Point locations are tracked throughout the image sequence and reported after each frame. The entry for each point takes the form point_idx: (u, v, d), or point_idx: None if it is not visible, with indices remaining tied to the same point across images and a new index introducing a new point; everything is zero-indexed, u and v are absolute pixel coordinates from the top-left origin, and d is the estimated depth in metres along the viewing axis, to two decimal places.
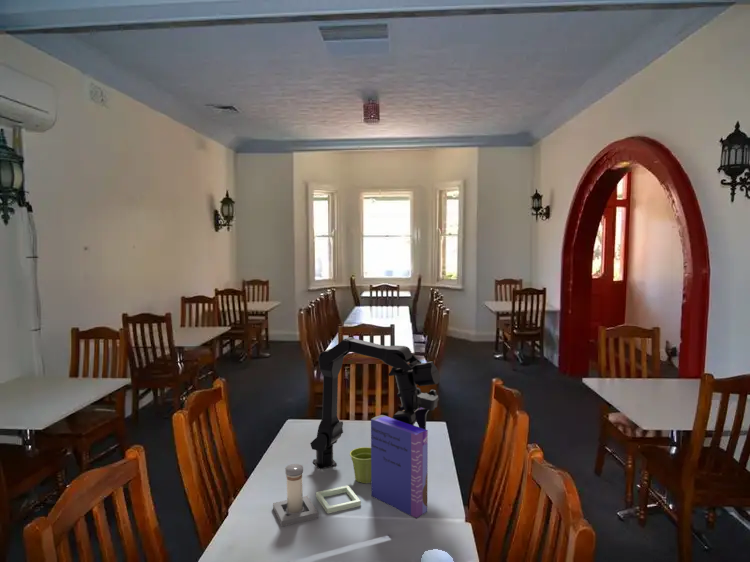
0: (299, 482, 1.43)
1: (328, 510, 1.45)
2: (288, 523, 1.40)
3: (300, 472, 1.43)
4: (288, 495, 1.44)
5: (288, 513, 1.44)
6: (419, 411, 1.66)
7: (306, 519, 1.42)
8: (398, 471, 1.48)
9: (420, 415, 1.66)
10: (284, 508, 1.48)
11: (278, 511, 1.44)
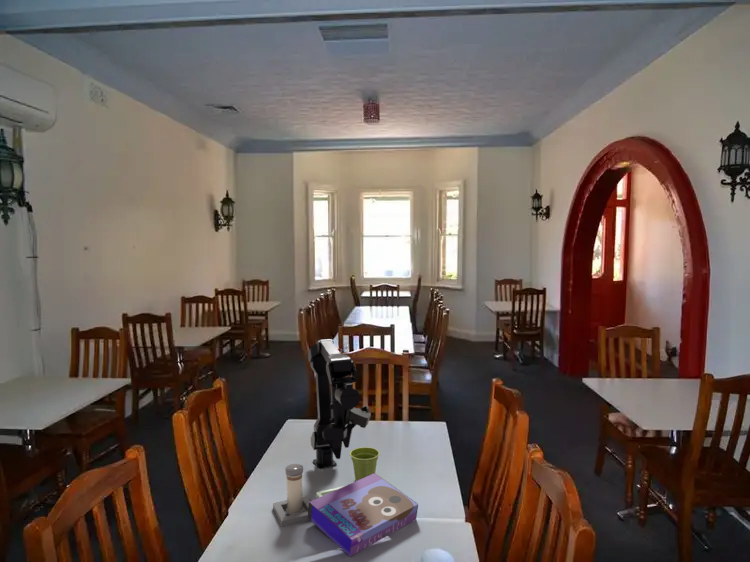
0: (299, 482, 1.43)
1: None
2: (288, 523, 1.40)
3: (300, 472, 1.43)
4: (288, 495, 1.44)
5: (288, 513, 1.44)
6: (346, 425, 1.59)
7: (306, 519, 1.42)
8: None
9: None
10: (284, 508, 1.48)
11: (278, 511, 1.44)
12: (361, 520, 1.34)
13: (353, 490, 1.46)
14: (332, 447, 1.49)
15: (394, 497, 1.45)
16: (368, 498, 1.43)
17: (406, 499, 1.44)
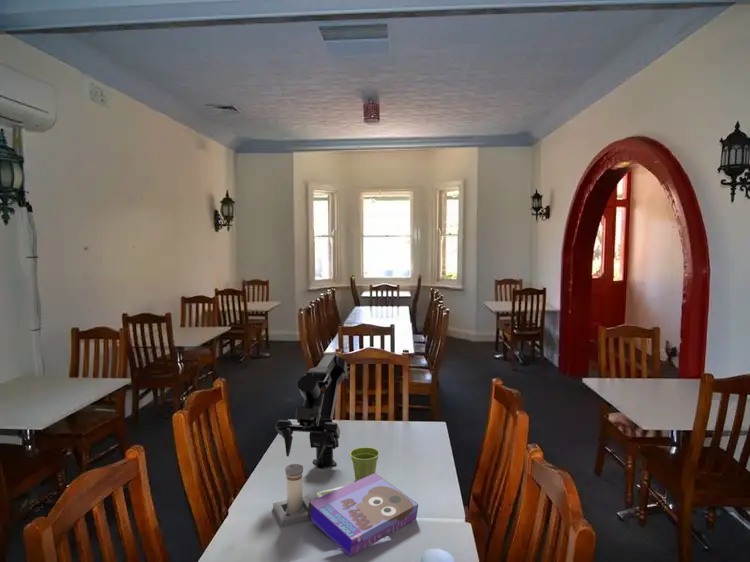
0: (299, 482, 1.43)
1: None
2: (288, 523, 1.40)
3: (300, 472, 1.43)
4: (288, 495, 1.44)
5: (288, 513, 1.44)
6: None
7: (306, 519, 1.42)
8: None
9: None
10: (284, 508, 1.48)
11: (278, 511, 1.44)
12: (361, 520, 1.34)
13: (353, 490, 1.46)
14: None
15: (394, 497, 1.45)
16: (368, 498, 1.43)
17: (406, 499, 1.44)
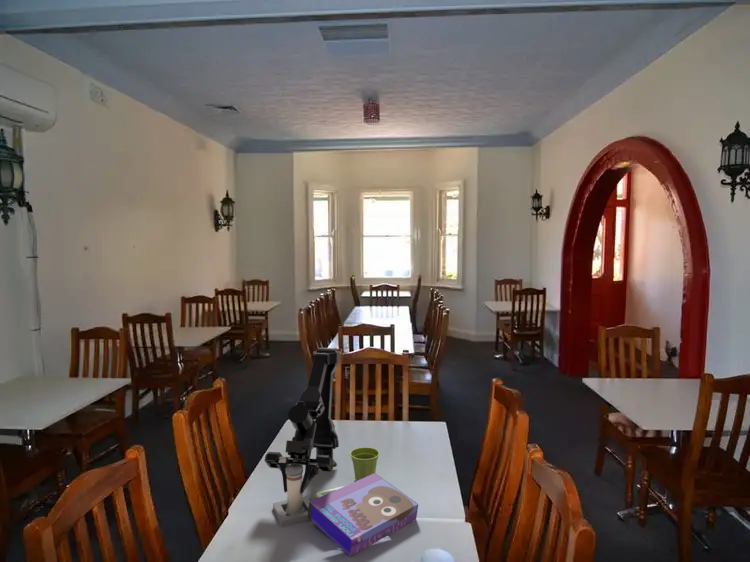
0: (299, 482, 1.43)
1: None
2: (288, 523, 1.40)
3: (300, 472, 1.43)
4: (288, 495, 1.44)
5: (288, 513, 1.44)
6: None
7: (306, 519, 1.42)
8: None
9: None
10: (284, 508, 1.48)
11: (278, 511, 1.44)
12: (361, 520, 1.34)
13: (353, 490, 1.46)
14: None
15: (394, 497, 1.45)
16: (368, 498, 1.43)
17: (406, 499, 1.44)
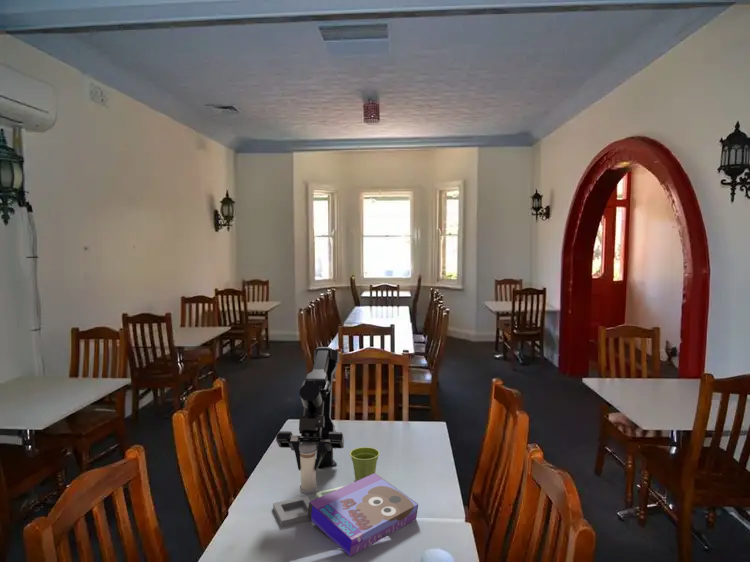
0: (313, 459, 1.45)
1: None
2: (288, 523, 1.40)
3: (314, 449, 1.44)
4: (302, 473, 1.45)
5: (302, 490, 1.45)
6: None
7: (306, 519, 1.42)
8: None
9: None
10: (284, 508, 1.48)
11: (278, 511, 1.44)
12: (361, 520, 1.34)
13: (353, 490, 1.46)
14: None
15: (394, 497, 1.45)
16: (368, 498, 1.43)
17: (406, 499, 1.44)
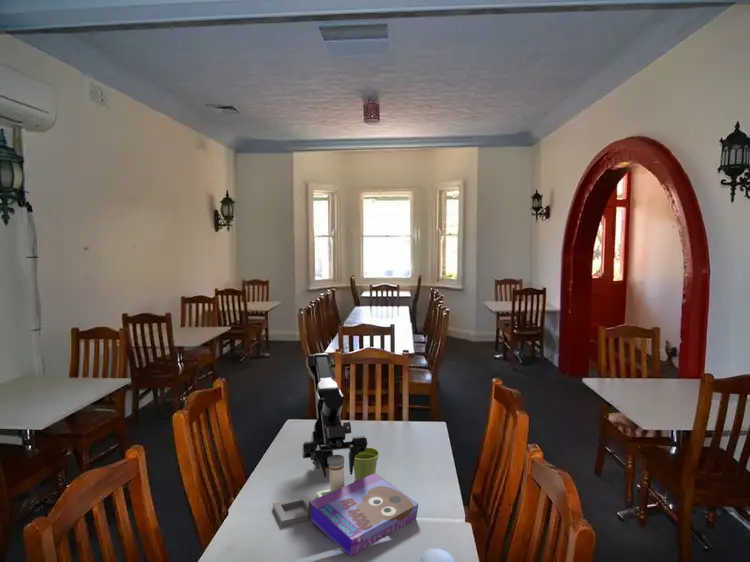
0: (343, 471, 1.50)
1: None
2: (288, 523, 1.40)
3: (343, 461, 1.50)
4: (333, 485, 1.49)
5: None
6: (349, 452, 1.55)
7: (306, 519, 1.42)
8: None
9: (349, 456, 1.54)
10: (284, 508, 1.48)
11: (278, 511, 1.44)
12: (361, 520, 1.34)
13: (353, 490, 1.46)
14: (319, 466, 1.52)
15: (394, 497, 1.45)
16: (368, 498, 1.43)
17: (406, 499, 1.44)
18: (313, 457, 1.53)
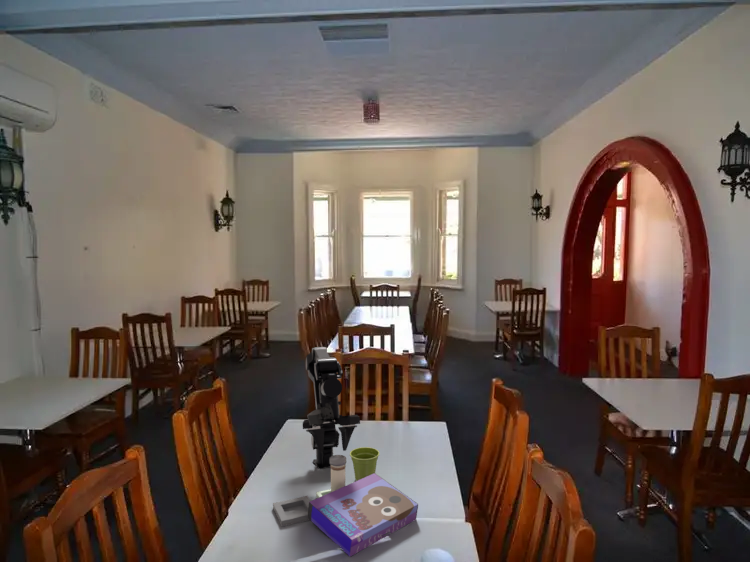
0: None
1: None
2: (288, 523, 1.40)
3: (345, 461, 1.50)
4: (334, 485, 1.49)
5: None
6: None
7: (306, 519, 1.42)
8: None
9: None
10: (284, 508, 1.48)
11: (278, 511, 1.44)
12: (361, 520, 1.34)
13: (353, 490, 1.46)
14: None
15: (394, 497, 1.45)
16: (368, 498, 1.43)
17: (406, 499, 1.44)
18: None
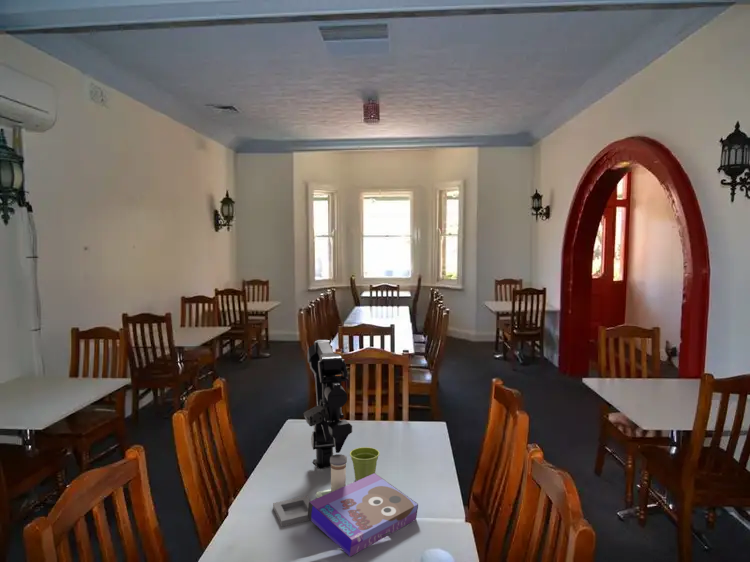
0: (345, 470, 1.51)
1: None
2: (288, 523, 1.40)
3: (346, 460, 1.51)
4: (334, 484, 1.50)
5: None
6: None
7: (306, 519, 1.42)
8: None
9: None
10: (284, 508, 1.48)
11: (278, 511, 1.44)
12: (361, 520, 1.34)
13: (353, 490, 1.46)
14: None
15: (394, 497, 1.45)
16: (368, 498, 1.43)
17: (406, 499, 1.44)
18: None
